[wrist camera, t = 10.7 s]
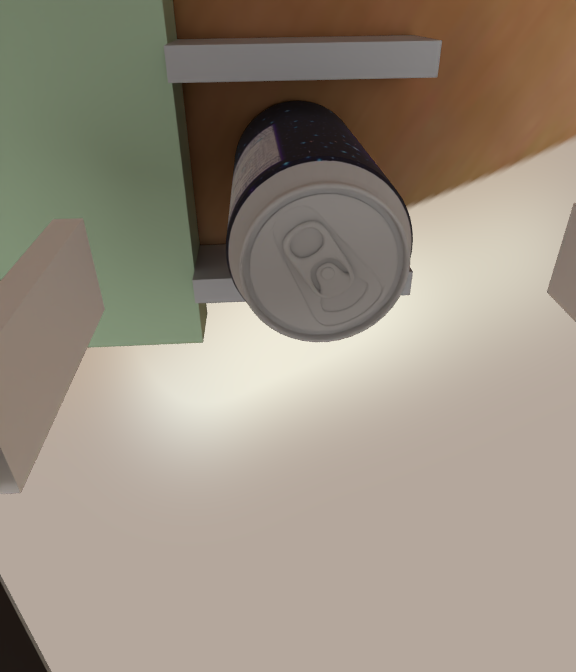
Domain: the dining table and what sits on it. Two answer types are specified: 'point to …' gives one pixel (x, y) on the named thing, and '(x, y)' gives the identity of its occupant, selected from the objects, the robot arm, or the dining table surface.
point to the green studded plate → (140, 144)
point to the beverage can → (314, 226)
